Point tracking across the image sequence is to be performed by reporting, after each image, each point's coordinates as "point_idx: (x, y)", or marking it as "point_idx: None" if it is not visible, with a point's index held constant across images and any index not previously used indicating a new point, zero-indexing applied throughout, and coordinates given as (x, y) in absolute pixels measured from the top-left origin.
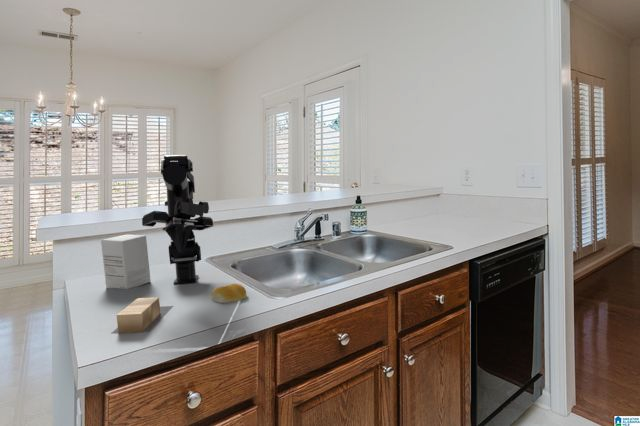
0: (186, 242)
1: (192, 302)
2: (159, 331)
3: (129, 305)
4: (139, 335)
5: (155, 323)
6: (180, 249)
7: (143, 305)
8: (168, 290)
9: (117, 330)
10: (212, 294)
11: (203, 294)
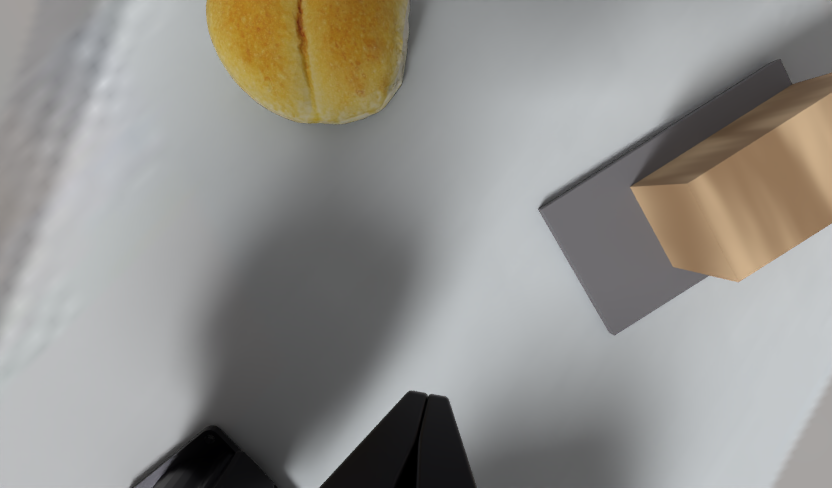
0: (339, 474)
1: (446, 182)
2: (741, 43)
3: (826, 220)
4: None
5: (716, 106)
6: (453, 424)
7: (804, 149)
8: None
9: None
10: (389, 81)
11: (335, 223)
